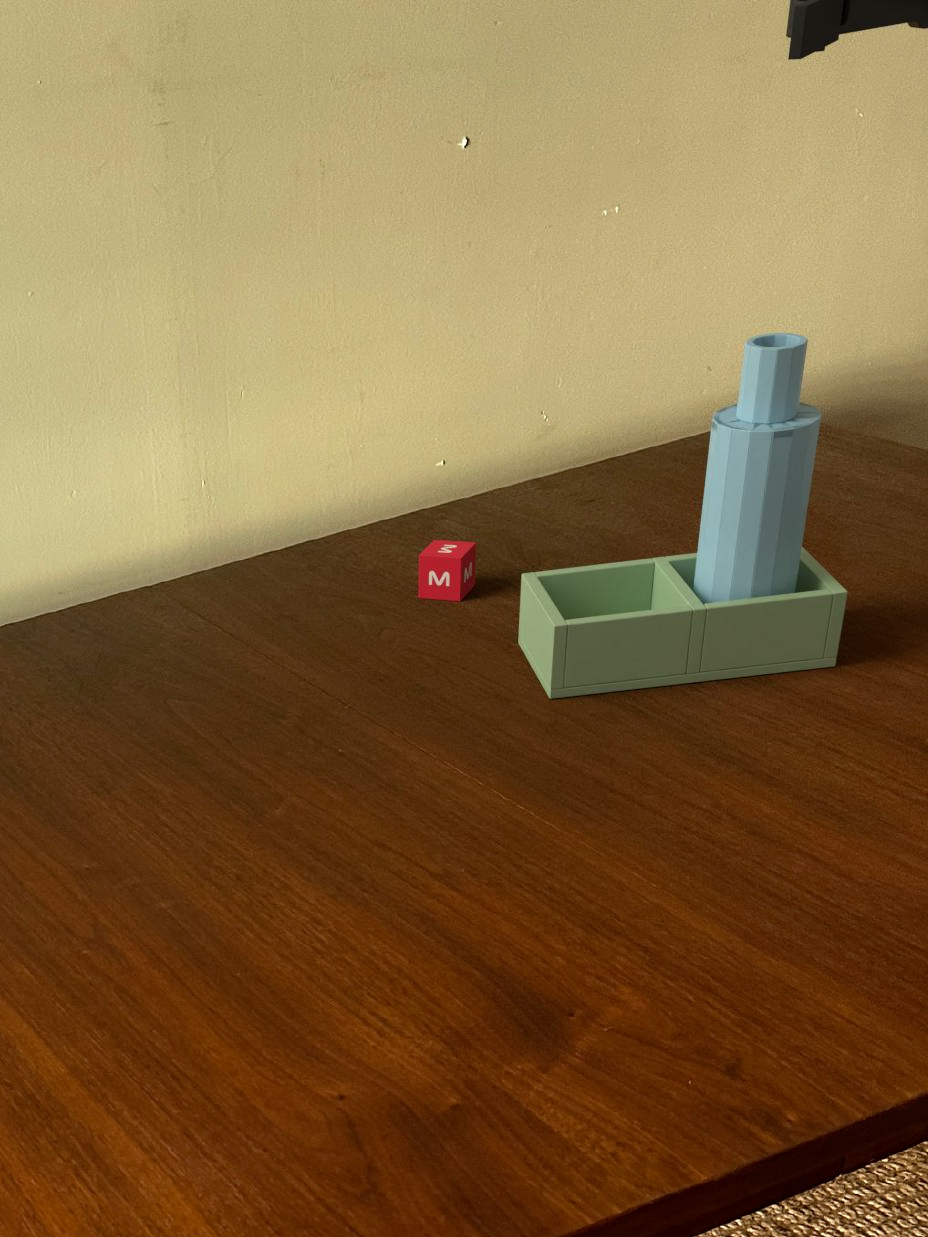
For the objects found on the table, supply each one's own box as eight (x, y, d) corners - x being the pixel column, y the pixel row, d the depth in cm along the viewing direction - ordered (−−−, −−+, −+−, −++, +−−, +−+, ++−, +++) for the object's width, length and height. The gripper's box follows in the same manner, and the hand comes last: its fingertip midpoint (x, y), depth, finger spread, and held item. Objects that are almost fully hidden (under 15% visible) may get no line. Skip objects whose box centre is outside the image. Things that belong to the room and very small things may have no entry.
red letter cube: (460, 601, 121) (461, 558, 119) (418, 598, 122) (418, 555, 120) (474, 585, 122) (476, 542, 121) (433, 582, 124) (434, 539, 122)
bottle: (770, 611, 111) (811, 321, 101) (801, 646, 107) (848, 347, 96) (677, 622, 112) (708, 334, 101) (704, 657, 107) (739, 360, 96)
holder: (785, 612, 113) (796, 540, 110) (835, 666, 106) (848, 591, 103) (517, 643, 114) (521, 573, 111) (549, 699, 107) (554, 626, 104)
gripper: (1227, 30, 109) (1142, 97, 97) (817, 46, 123) (697, 107, 110) (1264, -119, 105) (1180, -68, 92) (834, -85, 118) (711, -37, 106)
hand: (917, 27), depth 101 cm, fingers open, 13 cm apart
